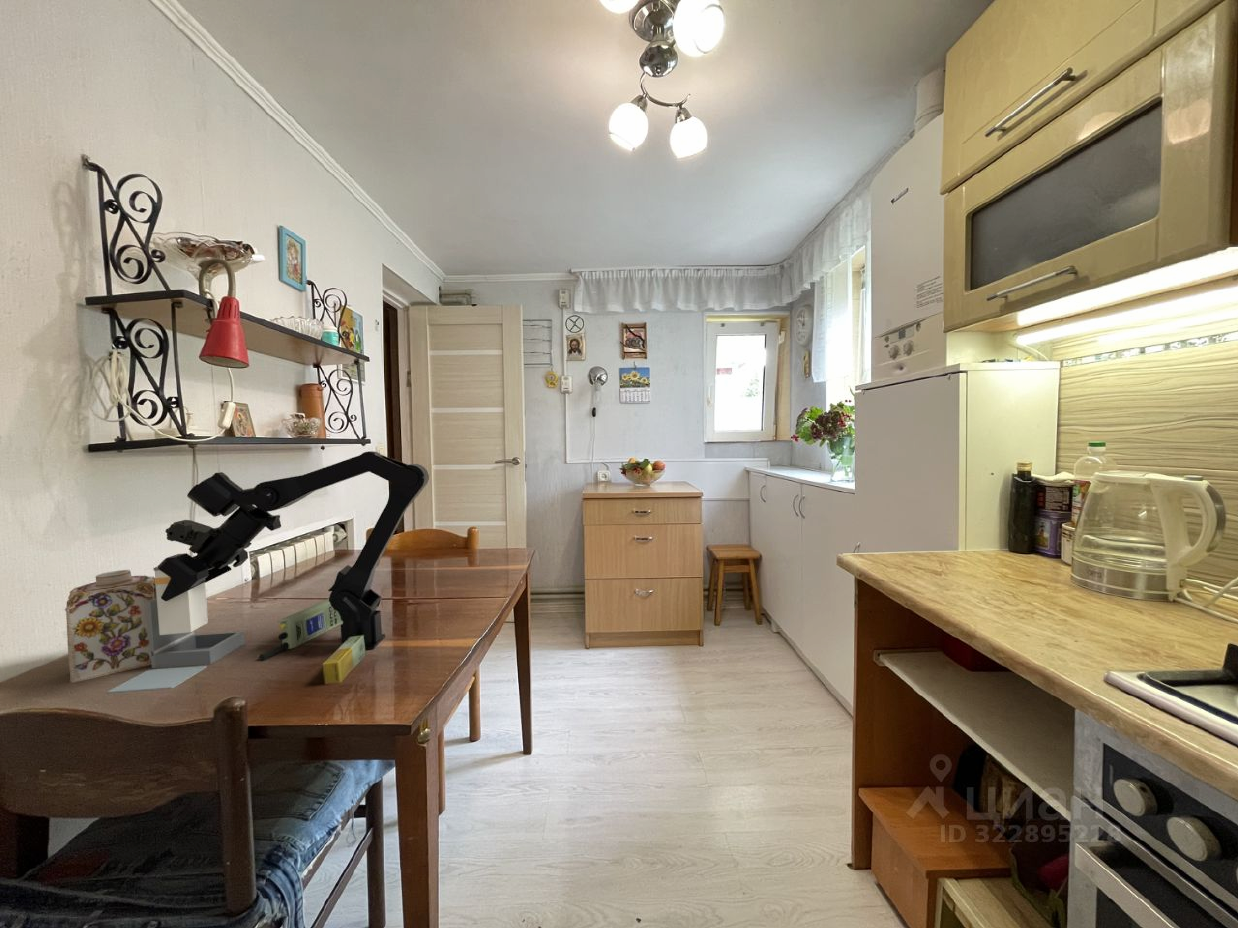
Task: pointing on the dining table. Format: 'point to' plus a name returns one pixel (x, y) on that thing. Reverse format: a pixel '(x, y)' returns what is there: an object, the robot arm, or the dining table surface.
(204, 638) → the case
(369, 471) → the robot arm
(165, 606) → the block
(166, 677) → the pad
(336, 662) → the medication box
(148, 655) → the decorative jar
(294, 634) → the handheld radio
